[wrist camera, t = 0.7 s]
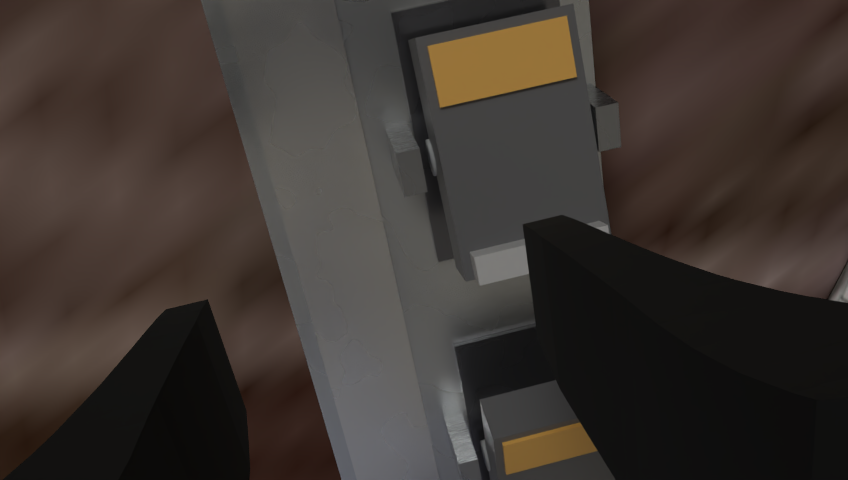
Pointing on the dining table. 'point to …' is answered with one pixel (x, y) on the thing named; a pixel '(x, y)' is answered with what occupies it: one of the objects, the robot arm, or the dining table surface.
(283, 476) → the dining table surface
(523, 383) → the power strip
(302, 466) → the dining table surface
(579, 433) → the rocker
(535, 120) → the rocker
